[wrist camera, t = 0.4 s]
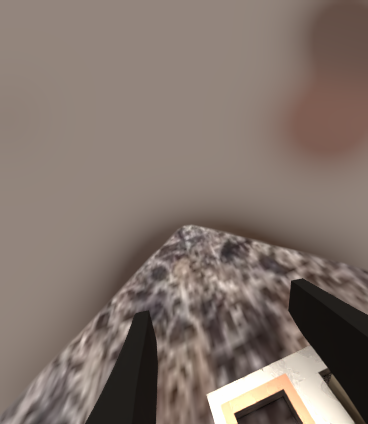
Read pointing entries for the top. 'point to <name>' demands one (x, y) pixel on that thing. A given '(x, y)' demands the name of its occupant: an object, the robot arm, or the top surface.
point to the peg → (345, 400)
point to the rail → (282, 392)
